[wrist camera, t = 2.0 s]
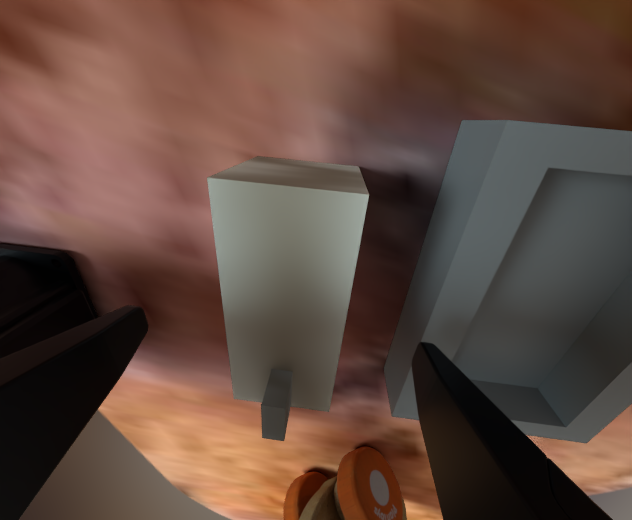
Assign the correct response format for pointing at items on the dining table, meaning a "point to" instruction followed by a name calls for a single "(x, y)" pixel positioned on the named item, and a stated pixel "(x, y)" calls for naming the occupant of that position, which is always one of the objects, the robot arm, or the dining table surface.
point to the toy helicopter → (348, 491)
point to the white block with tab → (286, 277)
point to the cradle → (528, 276)
